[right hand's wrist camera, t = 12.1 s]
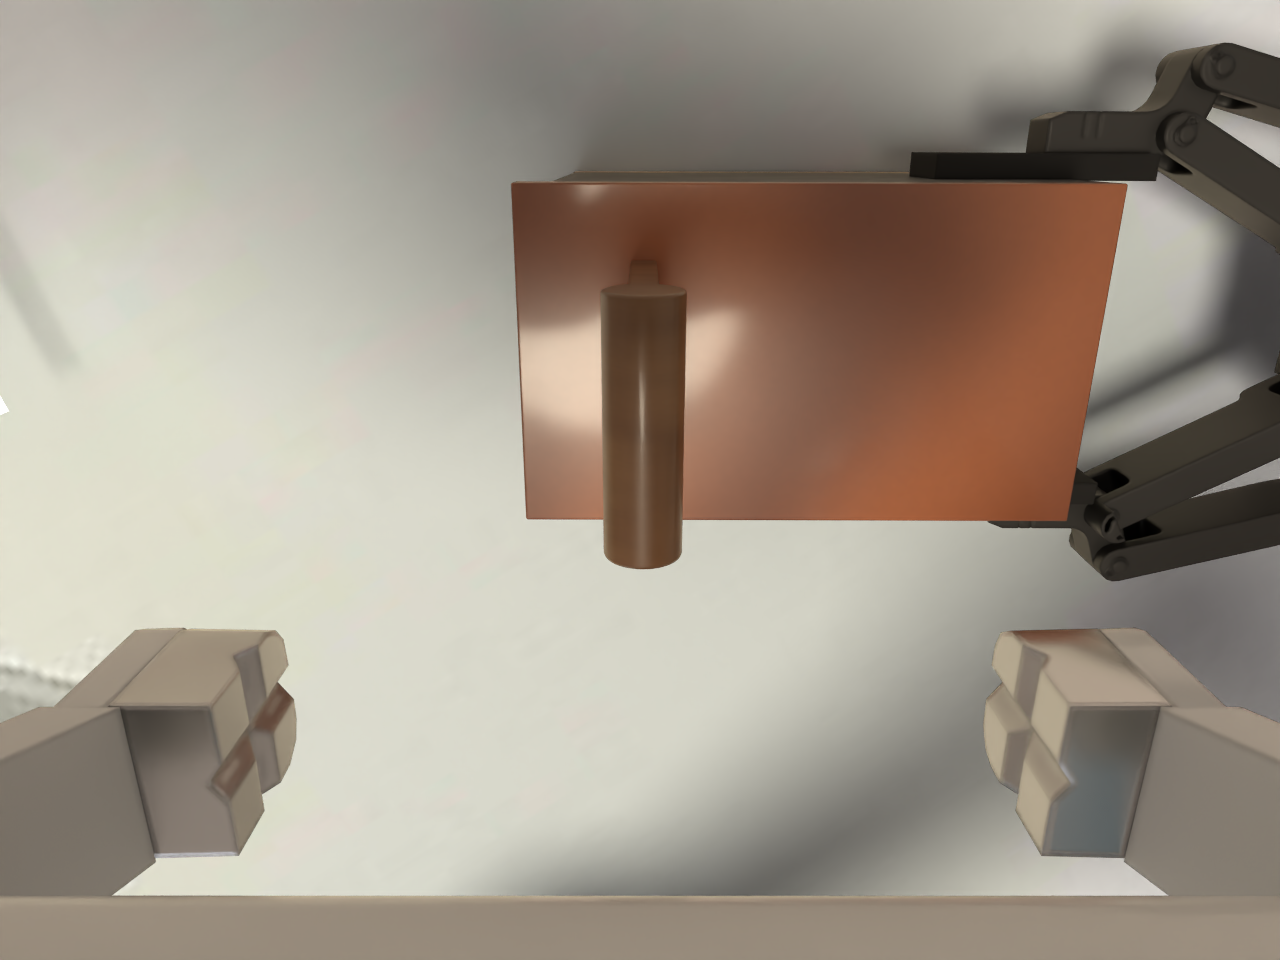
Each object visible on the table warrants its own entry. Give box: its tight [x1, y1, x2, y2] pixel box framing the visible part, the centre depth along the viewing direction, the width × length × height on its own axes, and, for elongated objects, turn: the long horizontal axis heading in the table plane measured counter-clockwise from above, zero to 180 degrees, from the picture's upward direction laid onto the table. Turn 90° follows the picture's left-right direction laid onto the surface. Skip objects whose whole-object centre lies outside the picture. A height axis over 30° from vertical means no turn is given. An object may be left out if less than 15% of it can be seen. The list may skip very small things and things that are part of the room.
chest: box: [555, 171, 1109, 183], centre depth 31 cm, size 15×10×10 cm, turn 90°
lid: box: [511, 181, 1127, 569], centre depth 22 cm, size 16×10×8 cm, turn 90°
